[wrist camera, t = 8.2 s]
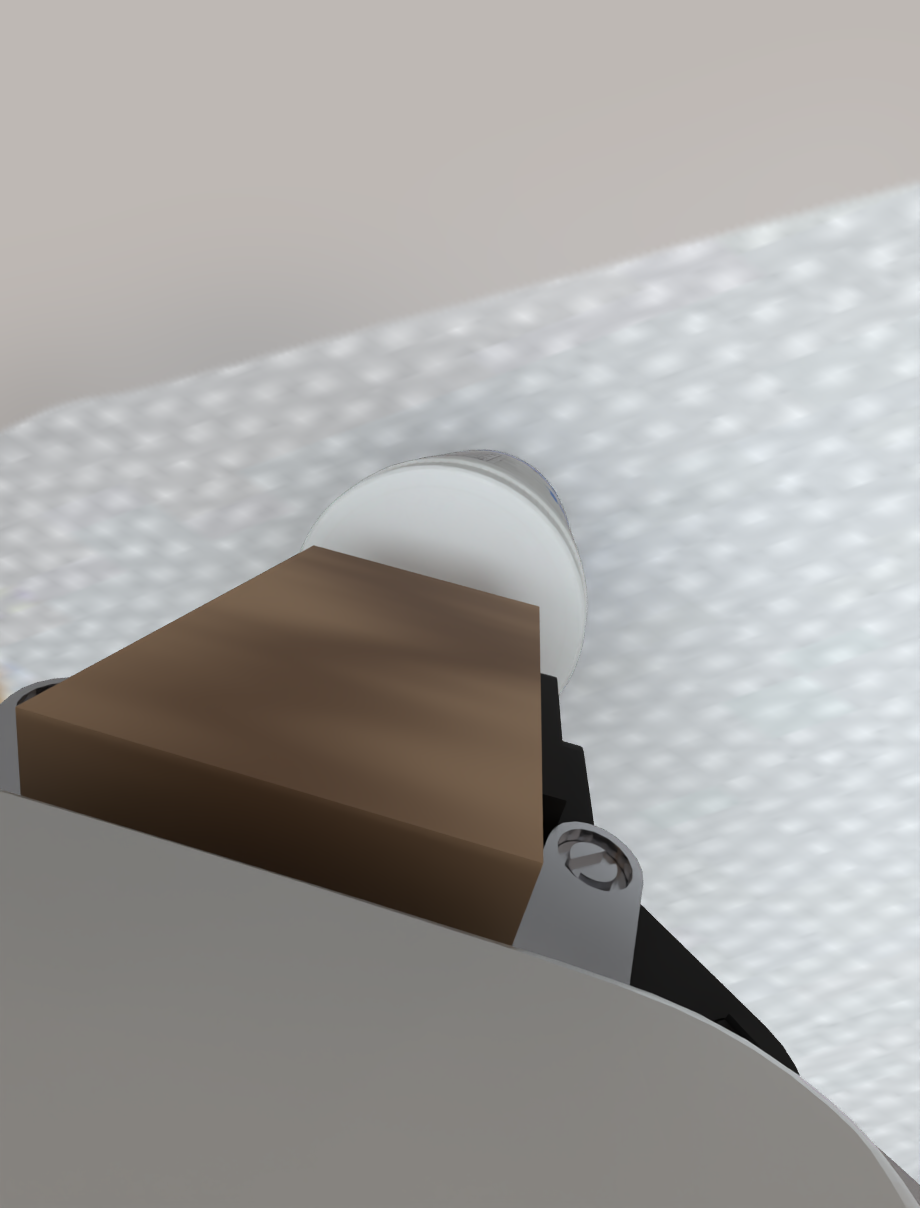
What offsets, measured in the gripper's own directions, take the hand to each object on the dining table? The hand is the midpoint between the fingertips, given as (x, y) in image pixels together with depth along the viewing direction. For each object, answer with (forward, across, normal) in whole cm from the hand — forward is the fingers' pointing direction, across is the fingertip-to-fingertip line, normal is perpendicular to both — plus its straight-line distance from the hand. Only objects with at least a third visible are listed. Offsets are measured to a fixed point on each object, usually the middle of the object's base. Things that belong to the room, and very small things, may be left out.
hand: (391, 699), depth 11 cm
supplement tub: (+20, 0, 0) cm, 20 cm away
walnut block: (+1, 0, 0) cm, 1 cm away
